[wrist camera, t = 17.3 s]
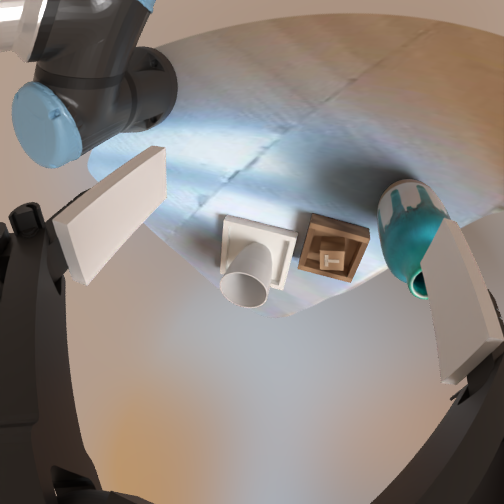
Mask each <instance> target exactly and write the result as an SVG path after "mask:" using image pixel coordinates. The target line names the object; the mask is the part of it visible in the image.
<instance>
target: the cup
mask: <svg viewBox="0 0 504 504" xmlns="http://www.w3.org/2000/svg"><path fill="white" fill-rule="evenodd" d="M271 279H272V257H271V252H270V250H269V249H268V248H267V247H266V246H265V245H263V244H260V243H251V244H249V245H248V246H246V247H245V248H244V249H243V250H241V251H240V252H239V254H238V255H237V256H236V257H235V259H234V260H233V261H232V262H231V264H230V265H229V267H228V269H227V270H226V272H225V274H224V276H223V277H222V279H221V281H220V290H221V292H222V294H223V295H224V296H225V298H226V299H228V300H229V301H230V302H232V303H233V304H235V305H238V306H240V307H245V308H255V307H259V306H261V305H263V304H264V303H265V302H266V300H267V297H268V293H269V288H270V284H271Z"/></svg>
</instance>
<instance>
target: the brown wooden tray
mask: <svg viewBox="0 0 504 504" xmlns="http://www.w3.org/2000/svg"><path fill="white" fill-rule="evenodd" d="M322 236H328V237H345V254H344V269H343V271H340V270H321V269H320V246H321V238H322ZM369 241H370V232H369V229H368V228H365V227H361V226H358V225H354V224H351V223H347V222H343V221H340V220H336V219H332V218H329V217H325V216H321V215H318V214H314V213H312V217H311V221H310V224H309V228H308V231H307V235H306V239H305V242H304V246H303V249H302V253H301V256H300V260H299V265H298V269H300V270H304V271H308V272H311V273H315V274H319V275H323V276H327V277H331V278H334V279H338V280H342V281H346V282H350V283H351V281H352V279H353V277H354V275H355V272H356V270H357V268H358V266H359V264H360V261H361V259H362V257H363V255H364V252H365V250H366V248H367V245H368V243H369Z"/></svg>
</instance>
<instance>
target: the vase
mask: <svg viewBox="0 0 504 504" xmlns="http://www.w3.org/2000/svg"><path fill="white" fill-rule="evenodd" d="M444 218H447V219H449V220H451V219H450V216H449V214H448V212H447V210H446V208H445V207H444V205H443V203H442V202H441V200H440V199H439V197H438V196H437V195H436V193H435V192H434V191H433V190H432V189H431V188H430V187H429V186H427V185H426V184H424V183H423V182H420V181H417V180H413V179H404V180H400V181H397V182H395V183H393V184H391V185H390V186H389V187H388V188H387V189H386V190H385V191H384V193H383V194H382V196H381V198H380V201H379V204H378V211H377V220H378V231H379V238H380V243H381V248H382V252H383V256H384V259H385V261H386V264H387V266H388V268H389V269H390V271H391V272H392V273H393V274H394V276H395V277H397V278H398V279H399V280H401V281H403V282H405V283H407V284H408V288H409V290H410V292H411V293H412V294H413V295H414V296H415V297H417V298H420V299H428V294H427V290H426V285H425V281H424V277H423V273H422V269H421V265H420V262H421V261H422V259H423V257H424V255H425V253H426V252H427V250H428V248H429V246H430V244H431V242H432V240H433V239H434V237H435V235H436V233H437V231H438V229H439V227H440V225H441V223H442V221H443V219H444Z"/></svg>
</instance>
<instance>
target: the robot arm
mask: <svg viewBox="0 0 504 504" xmlns="http://www.w3.org/2000/svg"><path fill="white" fill-rule="evenodd" d="M155 1H156V0H0V52H4V51H13V52H15V53H16V54H17V55H18V56H19V58H20V59H21V60H22V61H23V62H36V61H37V64H36V69H35V74H34V79H33V81H32V82H28V83H26V84H25V85H24V86H23V87H21V88H20V89H19V91H18V92H17V93H16V94H15V96H14V99H13V104H12V121H13V126H14V130H15V133H16V136H17V138H18V140H19V142H20V144H21V146H22V148H23V149H24V151H25V152H26V154H27V155H28V156H29V157H30V158H31V159H32V160H33V161H35V162H36V163H37V164H39V165H41V166H43V167H46V168H58V167H61V166H62V165H64V164H66V163H68V162H70V161H73V160H76V159H78V158H79V157H80V156H82V155H83V154H85V153H86V152H88V151H90V150H91V149H93V148H94V147H96V146H98V145H99V144H101V143H103V142H105V141H106V140H108V139H110V138H111V137H113V136H115V135H117V134H119V133H131V132H142V131H146V130H148V129H151V128H152V127H154V126H156V125H158V124H160V123H161V122H162V121H164V120H165V119H166V118H167V116H168V115H169V114H170V112H171V111H172V109H173V107H174V104H175V101H176V97H177V90H178V85H177V77H176V74H175V71H174V68H173V66H172V64H171V63H170V61H169V60H168V59H167V58H166V57H165V56H164V55H163V54H162V53H161V52H159V51H157V50H155V49H153V48H149V47H136V45H137V42H138V40H139V37H140V35H141V33H142V31H143V28H144V26H145V24H146V22H147V19H148V17H149V15H150V13H152V12H153V6H154V3H155ZM166 198H167V187H166V148H165V147H158V146H151V147H149V148H147V149H146V150H144V151H143V152H141V153H140V154H138V155H137V156H135V157H134V158H132V159H131V160H129V161H128V162H126V163H125V164H124V165H122V166H121V167H119V168H118V169H116V170H115V171H114V172H112V173H111V174H109V175H108V176H107V177H105V178H104V179H103V180H101V181H100V182H99V183H97V184H96V185H95V186H93V187H92V188H90V189H88V190H86V191H84V192H82V193H80V194H79V195H78V196H76V197H75V198H74V199H73V201H70V202H69V203H68V204H67V205H66V206H64V207H63V208H62V209H60V210H59V211H58V212H57V213H56V214H54V215H53V216H52V217H51V218H50V219H49V220H47V221H46V222H44V218H43V215H42V212H41V208H40V205H39V204H38V203H35V202H31V203H26V204H23V205H21V206H19V207H17V208H16V209H14V211H12V212H11V213H10V215H9V220H10V223H11V226H12V228H13V231H14V233H9V232H8V230H7V227H6V224H5V223H3V222H0V504H154V503H151V502H149V501H147V500H144V499H142V498H140V497H138V496H133V495H128V494H123V493H118V492H114V491H110V492H109V491H103V490H102V488H101V484H100V481H99V479H98V475H97V472H96V469H95V466H94V464H93V462H92V460H91V459H90V457H89V456H88V454H87V453H86V451H85V448H84V445H83V442H82V438H81V433H80V428H79V423H78V418H77V413H76V408H75V402H74V396H73V389H72V382H71V375H70V366H69V357H68V346H67V331H66V306H65V305H66V304H65V277H64V275H63V274H64V273H65V272H66V270H67V269H69V272H70V274H71V277H72V279H73V280H74V281H76V282H79V283H81V284H83V285H86V286H87V285H88V284H89V283H90V281H92V279H93V278H94V277H95V276H96V275H97V273H98V272H99V271H100V270H101V269H102V267H103V266H104V265H105V264H106V263H107V262H108V261H109V259H110V258H111V257H112V256H113V255H114V253H115V252H116V251H117V250H118V249H119V248H120V247H121V246H122V245H123V244H124V242H125V241H126V240H127V239H128V238H129V237H130V236H131V235H132V234H133V233H134V231H135V230H136V229H137V228H138V227H139V226H140V225H141V224H142V223H143V222H144V221H145V220H146V219H147V218H148V217H149V216H150V215H151V213H152V212H153V211H154V210H155V209H156V208H157V207H158V206H159V205H160V204H161V203H162V202H163V201H164V200H165V199H166ZM420 265H421V269H422V273H423V277H424V281H425V285H426V290H427V294H428V299H429V304H430V309H431V313H432V319H433V325H434V331H435V337H436V344H437V351H438V358H439V367H440V376H441V383H447V384H455V385H456V384H458V383H459V382H460V381H461V380H462V379H464V378H465V377H466V376H467V381H468V384H467V385H466V386H465V387H463V388H462V389H461V390H460V391H458V392H457V393H456V394H455V395H453V396H452V397H451V398H450V400H451V401H452V400H453V399H454V398H456V400H455V401H454V403H453V404H452V406H451V407H450V409H449V410H448V412H447V413H446V415H445V416H444V418H443V419H442V421H441V422H440V424H439V425H438V426H437V428H436V429H435V431H434V432H433V433H432V435H431V436H430V437H429V439H428V440H427V441H426V443H425V444H424V445H423V446H422V448H421V449H420V450H419V451H418V453H417V454H416V455H415V456H414V458H413V459H412V460H411V461H410V462H409V464H408V465H407V466H406V467H405V468H404V469H403V471H401V473H400V474H399V475H398V476H397V477H396V478H395V479H394V480H393V481H392V482H391V484H389V486H388V487H387V488H386V489H385V490H384V491H383V492H382V493H381V494H380V495H379V496H378V497H377V498H376V499H375V500H374V501H373V502H371V503H370V504H504V324H503V320H501V315H500V312H499V311H498V310H499V309H498V306H497V304H496V301H495V299H494V297H493V295H492V294H491V292H490V291H489V289H487V287H486V285H485V282H484V280H483V277H482V275H481V272H480V270H479V268H478V265H477V263H476V261H475V259H474V257H473V254H472V252H471V250H470V248H469V246H468V244H467V242H466V239H465V237H464V235H463V233H462V232H461V229H460V227H459V226H458V224H457V222H455V221H452V220H449V219H447V218H444V219H443V221H442V223H441V225H440V227H439V229H438V231H437V233H436V235H435V237H434V239H433V240H432V242H431V244H430V246H429V248H428V250H427V252H426V253H425V255H424V257H423V259H422V261H421V262H420ZM54 489H55V491H56V494H57V496H56V494H55V491H54Z"/></svg>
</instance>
